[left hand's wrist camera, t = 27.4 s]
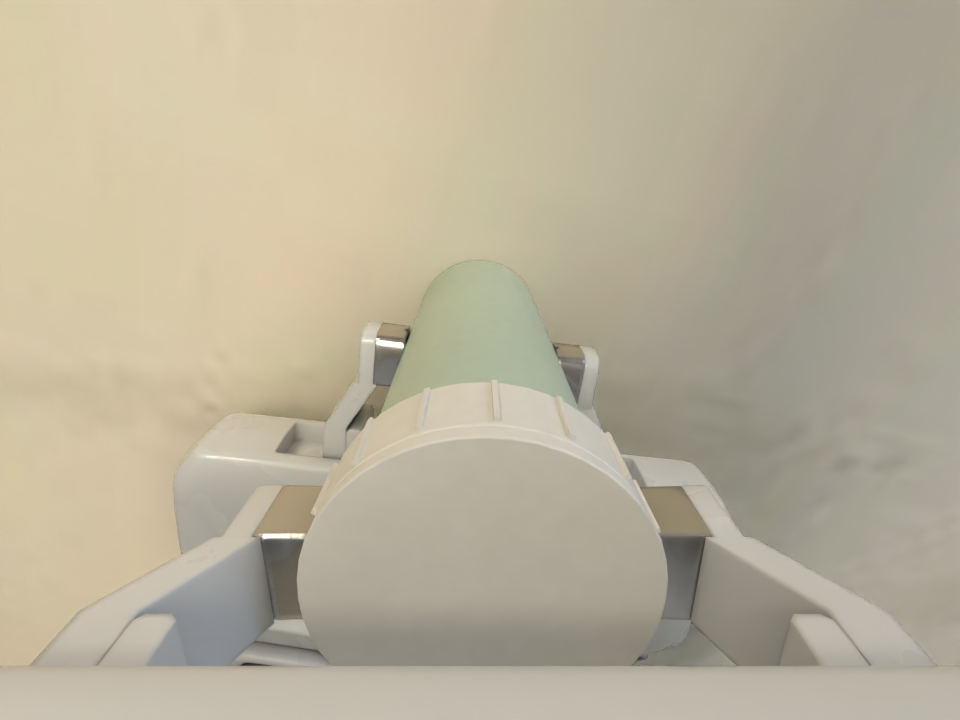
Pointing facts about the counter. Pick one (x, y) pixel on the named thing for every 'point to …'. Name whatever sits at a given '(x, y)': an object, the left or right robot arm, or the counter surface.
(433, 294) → the jar
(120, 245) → the counter surface
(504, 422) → the lid
